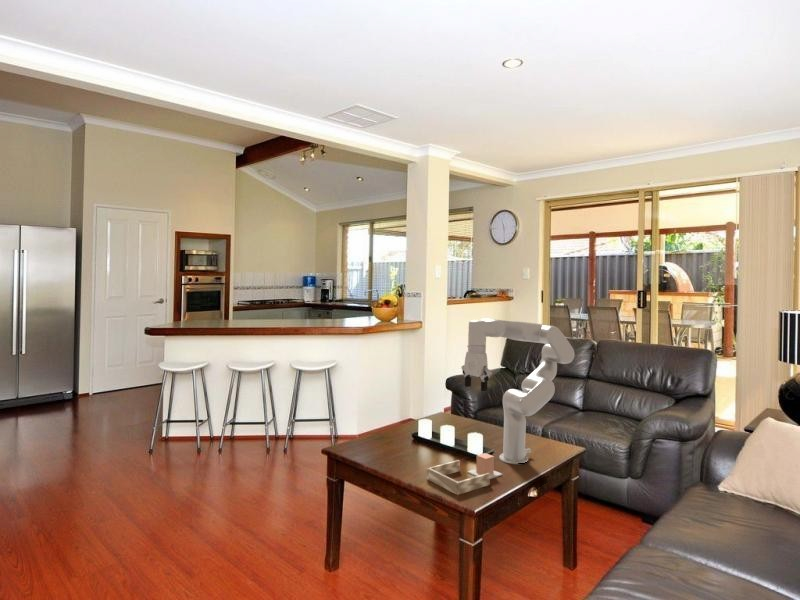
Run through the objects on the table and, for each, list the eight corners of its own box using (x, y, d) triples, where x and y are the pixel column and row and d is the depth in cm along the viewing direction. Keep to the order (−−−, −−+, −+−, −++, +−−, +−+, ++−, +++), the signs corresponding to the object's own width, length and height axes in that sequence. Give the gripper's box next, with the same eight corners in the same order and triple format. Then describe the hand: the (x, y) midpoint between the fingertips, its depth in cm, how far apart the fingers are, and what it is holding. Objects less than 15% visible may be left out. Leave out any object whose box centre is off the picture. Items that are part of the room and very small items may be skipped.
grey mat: (484, 467, 222) (484, 466, 222) (502, 475, 214) (502, 473, 214) (467, 472, 216) (467, 471, 216) (484, 480, 208) (484, 479, 208)
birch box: (458, 470, 218) (458, 459, 218) (489, 484, 204) (489, 473, 203) (426, 479, 208) (427, 468, 208) (457, 495, 194) (457, 483, 193)
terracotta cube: (484, 469, 218) (485, 452, 218) (493, 473, 214) (494, 456, 214) (476, 471, 215) (476, 455, 215) (485, 475, 211) (485, 458, 211)
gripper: (456, 347, 227) (455, 385, 228) (485, 352, 213) (484, 393, 214) (469, 345, 232) (468, 384, 232) (498, 351, 218) (496, 391, 218)
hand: (475, 388), depth 223 cm, fingers open, 9 cm apart
